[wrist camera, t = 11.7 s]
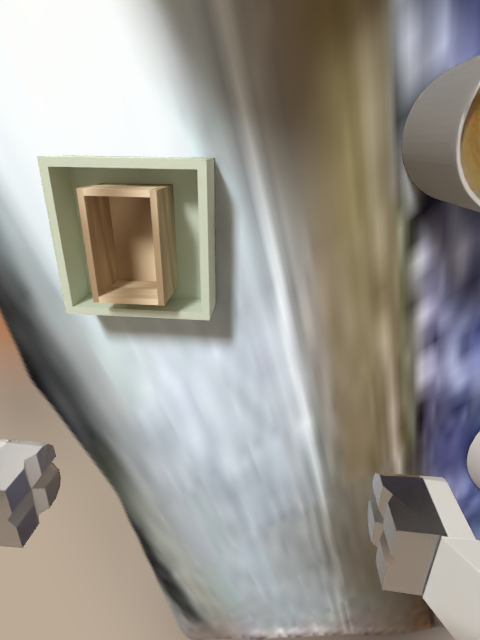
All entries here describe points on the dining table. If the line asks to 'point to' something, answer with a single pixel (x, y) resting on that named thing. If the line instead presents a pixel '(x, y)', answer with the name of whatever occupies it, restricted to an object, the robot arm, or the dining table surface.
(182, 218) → the sage crate
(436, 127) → the coffee mug
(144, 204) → the pine crate
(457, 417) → the dining table surface
